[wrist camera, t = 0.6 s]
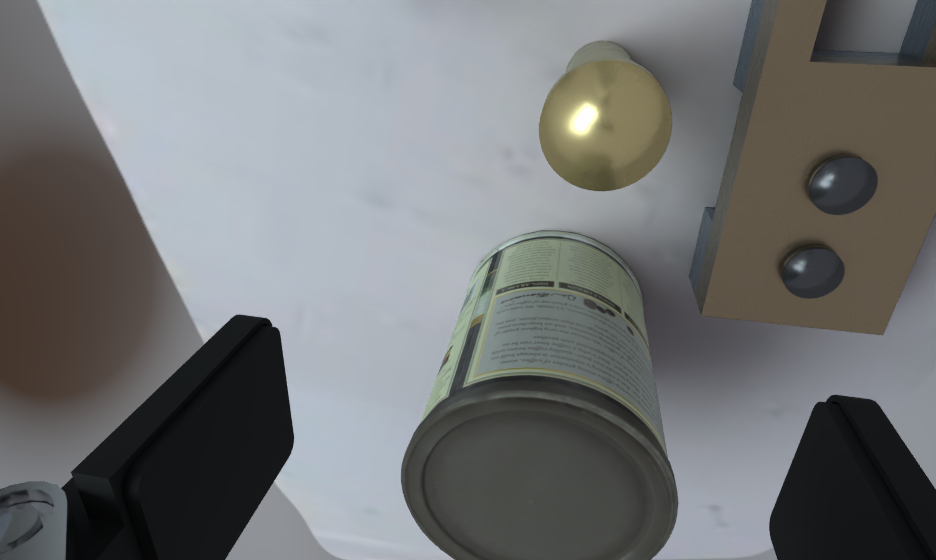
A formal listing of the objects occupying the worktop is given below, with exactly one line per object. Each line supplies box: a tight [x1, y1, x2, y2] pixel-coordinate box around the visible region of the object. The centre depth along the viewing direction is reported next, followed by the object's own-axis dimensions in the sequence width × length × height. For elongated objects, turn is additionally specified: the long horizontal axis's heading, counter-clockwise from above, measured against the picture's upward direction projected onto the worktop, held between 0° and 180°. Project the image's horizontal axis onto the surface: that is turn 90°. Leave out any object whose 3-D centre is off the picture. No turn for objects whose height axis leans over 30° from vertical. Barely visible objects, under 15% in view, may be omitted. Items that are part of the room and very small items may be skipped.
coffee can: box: [401, 231, 678, 560], centre depth 28 cm, size 10×10×14 cm
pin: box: [539, 41, 672, 191], centre depth 23 cm, size 4×4×10 cm
